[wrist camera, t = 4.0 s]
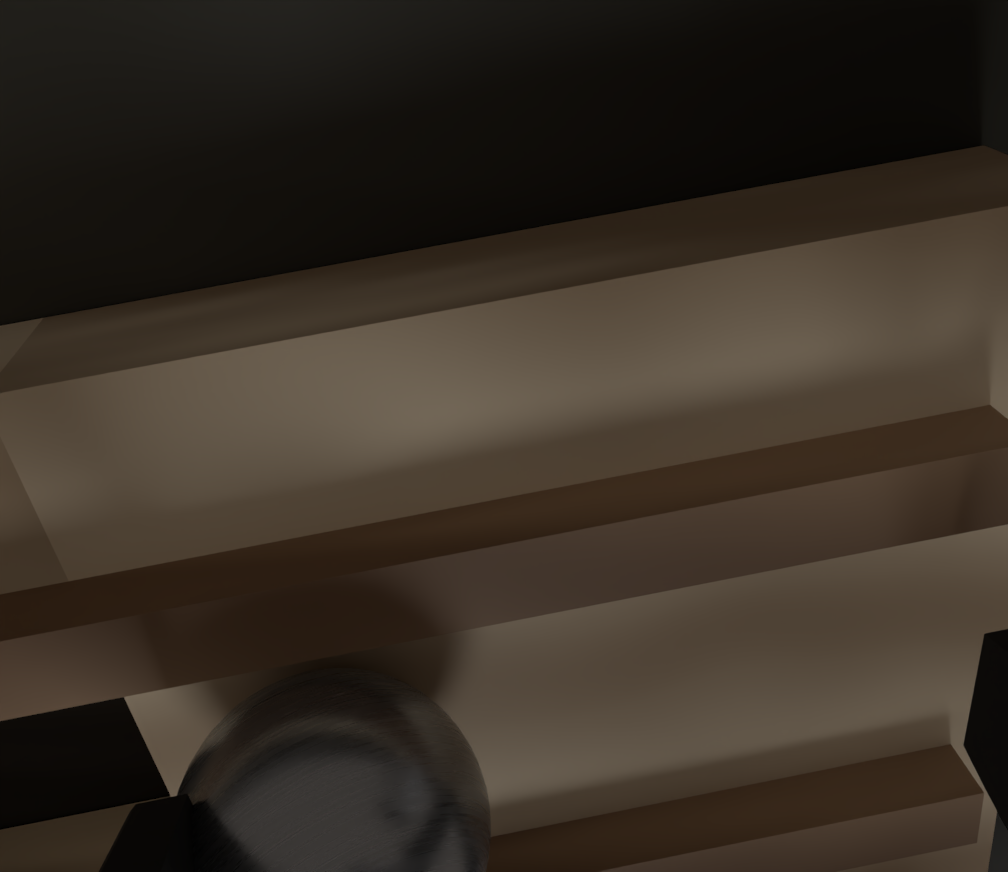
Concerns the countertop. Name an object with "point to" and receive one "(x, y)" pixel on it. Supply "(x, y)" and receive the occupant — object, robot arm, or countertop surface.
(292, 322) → the board
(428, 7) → the countertop surface
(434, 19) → the countertop surface
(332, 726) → the ball
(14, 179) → the countertop surface
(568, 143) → the countertop surface
